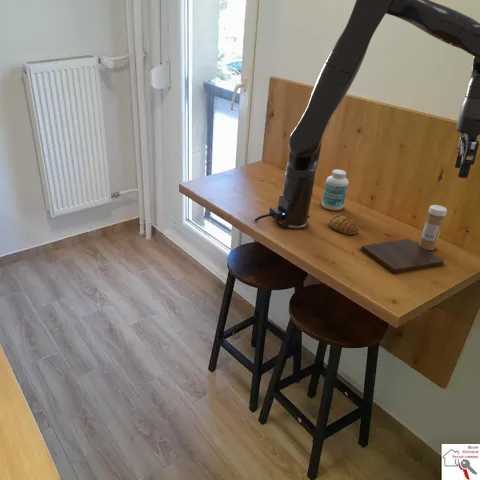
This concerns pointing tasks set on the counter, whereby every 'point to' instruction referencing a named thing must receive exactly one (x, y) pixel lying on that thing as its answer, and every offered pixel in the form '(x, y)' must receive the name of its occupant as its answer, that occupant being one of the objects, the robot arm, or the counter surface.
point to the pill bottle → (335, 190)
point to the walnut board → (402, 256)
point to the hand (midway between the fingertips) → (460, 172)
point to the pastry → (343, 224)
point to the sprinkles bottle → (432, 227)
